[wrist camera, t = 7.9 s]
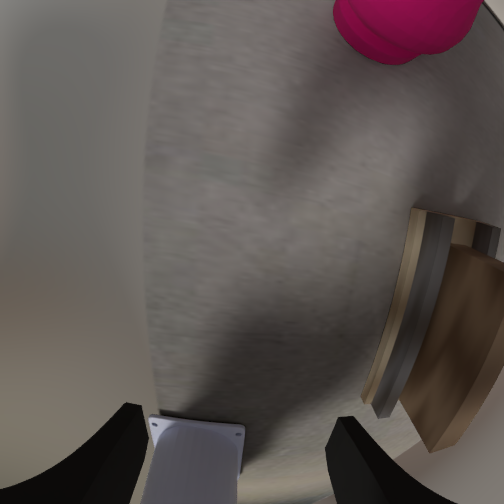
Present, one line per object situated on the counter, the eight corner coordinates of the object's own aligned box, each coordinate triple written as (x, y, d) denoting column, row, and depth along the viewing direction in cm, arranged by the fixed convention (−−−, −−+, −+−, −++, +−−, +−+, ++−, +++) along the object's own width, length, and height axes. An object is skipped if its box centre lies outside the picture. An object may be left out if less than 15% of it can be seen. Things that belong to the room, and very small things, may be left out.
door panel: (420, 386, 19) (458, 443, 13) (393, 390, 19) (429, 453, 13) (468, 245, 16) (538, 279, 10) (441, 241, 16) (515, 278, 9)
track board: (427, 387, 21) (440, 406, 18) (360, 396, 21) (371, 419, 18) (481, 221, 17) (505, 229, 14) (411, 207, 17) (435, 214, 14)
